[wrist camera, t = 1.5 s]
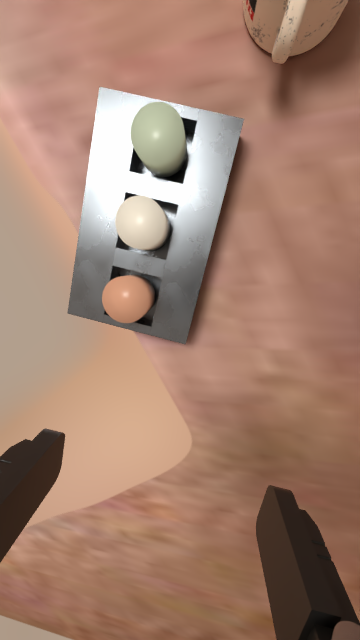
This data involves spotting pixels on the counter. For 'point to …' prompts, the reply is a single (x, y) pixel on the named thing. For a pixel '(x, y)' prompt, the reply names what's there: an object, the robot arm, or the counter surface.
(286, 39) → the teacup with lid
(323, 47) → the counter surface
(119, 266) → the panel
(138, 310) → the orange rounded piece
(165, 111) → the sage button
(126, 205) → the ivory button
